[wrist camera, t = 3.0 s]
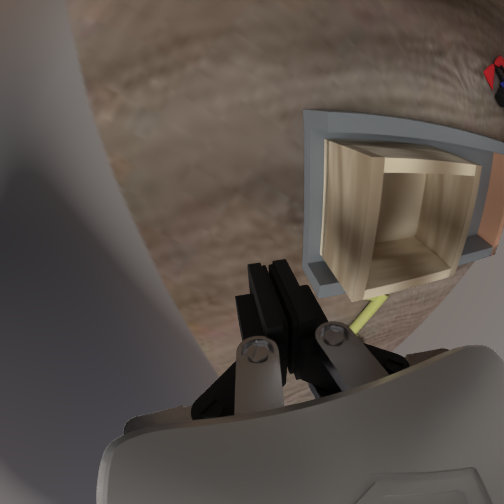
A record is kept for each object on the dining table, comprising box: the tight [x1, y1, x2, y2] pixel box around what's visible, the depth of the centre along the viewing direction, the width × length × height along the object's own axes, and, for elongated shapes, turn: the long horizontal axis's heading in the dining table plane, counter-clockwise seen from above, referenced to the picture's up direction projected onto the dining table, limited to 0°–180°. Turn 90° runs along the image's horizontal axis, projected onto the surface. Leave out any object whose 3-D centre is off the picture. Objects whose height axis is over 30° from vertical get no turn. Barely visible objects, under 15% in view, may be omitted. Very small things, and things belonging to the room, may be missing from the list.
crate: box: [320, 139, 482, 302], centre depth 17 cm, size 10×9×6 cm
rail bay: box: [302, 110, 504, 298], centre depth 19 cm, size 24×13×4 cm, turn 94°
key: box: [349, 294, 389, 337], centre depth 28 cm, size 7×12×2 cm, turn 177°
